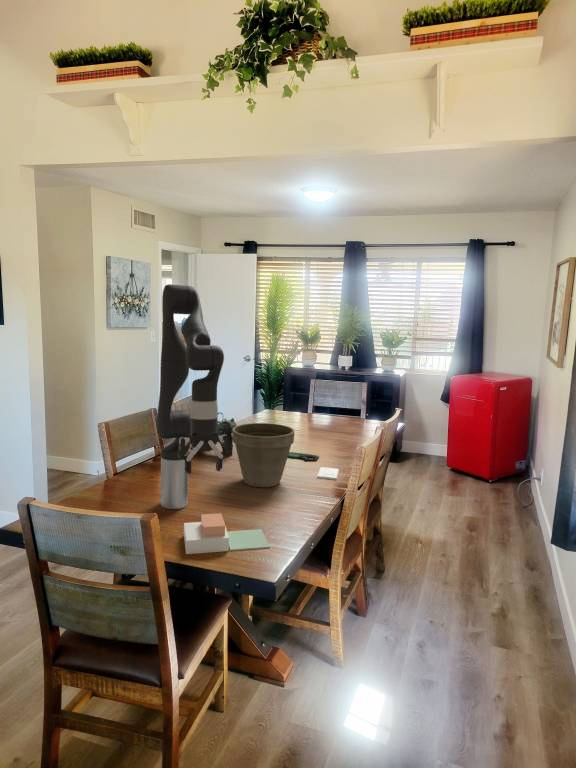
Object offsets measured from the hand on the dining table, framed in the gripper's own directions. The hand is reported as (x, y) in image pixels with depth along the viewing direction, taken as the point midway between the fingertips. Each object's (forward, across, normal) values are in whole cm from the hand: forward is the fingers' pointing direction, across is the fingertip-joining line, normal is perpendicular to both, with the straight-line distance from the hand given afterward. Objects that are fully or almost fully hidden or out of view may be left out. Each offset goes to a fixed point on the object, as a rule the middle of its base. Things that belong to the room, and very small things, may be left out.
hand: (203, 471), depth 146 cm
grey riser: (+22, -1, -2) cm, 22 cm away
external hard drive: (+21, -67, -46) cm, 84 cm away
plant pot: (+20, -37, -47) cm, 63 cm away
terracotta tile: (+16, -3, -1) cm, 17 cm away
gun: (+20, -67, -72) cm, 100 cm away
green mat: (+22, -13, 0) cm, 26 cm away
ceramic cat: (+18, -31, -90) cm, 97 cm away
